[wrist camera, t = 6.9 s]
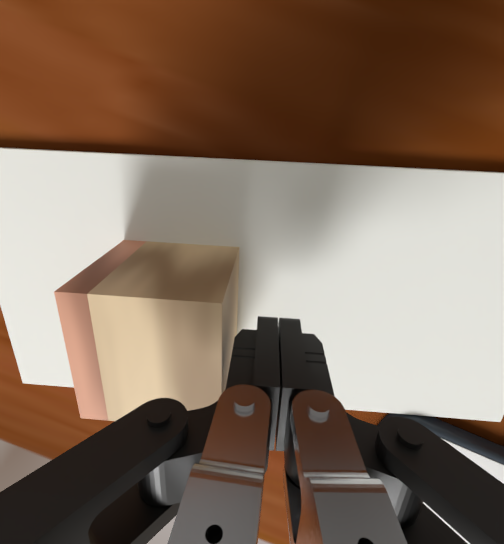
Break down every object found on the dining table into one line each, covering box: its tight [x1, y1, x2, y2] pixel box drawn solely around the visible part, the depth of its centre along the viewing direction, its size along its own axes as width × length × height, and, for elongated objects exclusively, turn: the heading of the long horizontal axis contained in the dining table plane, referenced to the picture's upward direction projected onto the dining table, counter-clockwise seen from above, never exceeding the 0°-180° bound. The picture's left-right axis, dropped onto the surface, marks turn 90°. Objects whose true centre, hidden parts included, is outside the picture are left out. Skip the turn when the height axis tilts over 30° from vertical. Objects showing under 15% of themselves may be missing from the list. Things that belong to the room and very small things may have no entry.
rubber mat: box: [0, 147, 504, 422], centre depth 15 cm, size 25×12×1 cm, turn 87°
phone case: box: [377, 413, 504, 544], centre depth 20 cm, size 9×2×16 cm
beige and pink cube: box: [54, 240, 239, 421], centre depth 13 cm, size 5×5×5 cm
